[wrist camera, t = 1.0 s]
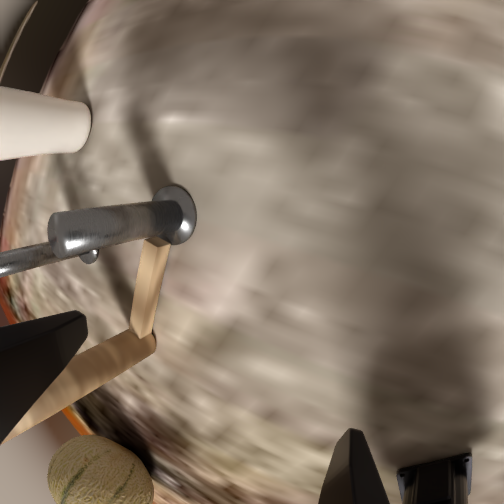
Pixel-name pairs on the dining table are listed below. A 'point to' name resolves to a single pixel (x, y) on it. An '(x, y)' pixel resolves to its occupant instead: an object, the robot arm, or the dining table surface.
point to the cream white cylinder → (40, 124)
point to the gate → (108, 345)
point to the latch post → (36, 258)
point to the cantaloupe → (98, 473)
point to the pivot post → (123, 223)
